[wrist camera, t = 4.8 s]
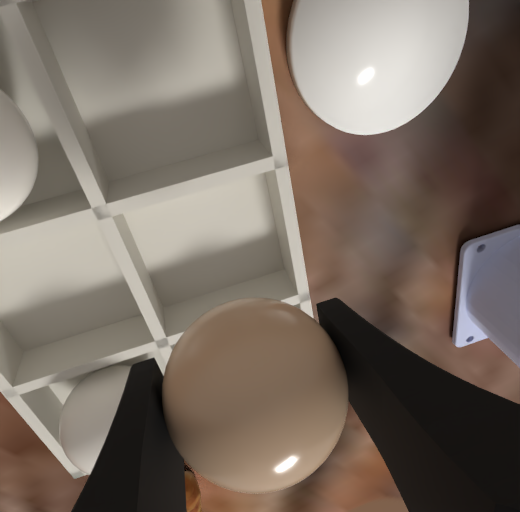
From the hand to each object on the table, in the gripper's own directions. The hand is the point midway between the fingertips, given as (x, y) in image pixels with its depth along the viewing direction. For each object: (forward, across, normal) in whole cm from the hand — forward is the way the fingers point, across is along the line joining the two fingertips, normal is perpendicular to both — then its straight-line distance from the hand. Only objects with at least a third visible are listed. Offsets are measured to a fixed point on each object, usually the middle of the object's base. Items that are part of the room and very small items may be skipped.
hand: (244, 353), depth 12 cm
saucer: (+8, -8, -6) cm, 13 cm away
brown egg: (+1, 0, 0) cm, 1 cm away
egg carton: (+8, +3, 0) cm, 8 cm away
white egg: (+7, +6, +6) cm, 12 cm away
